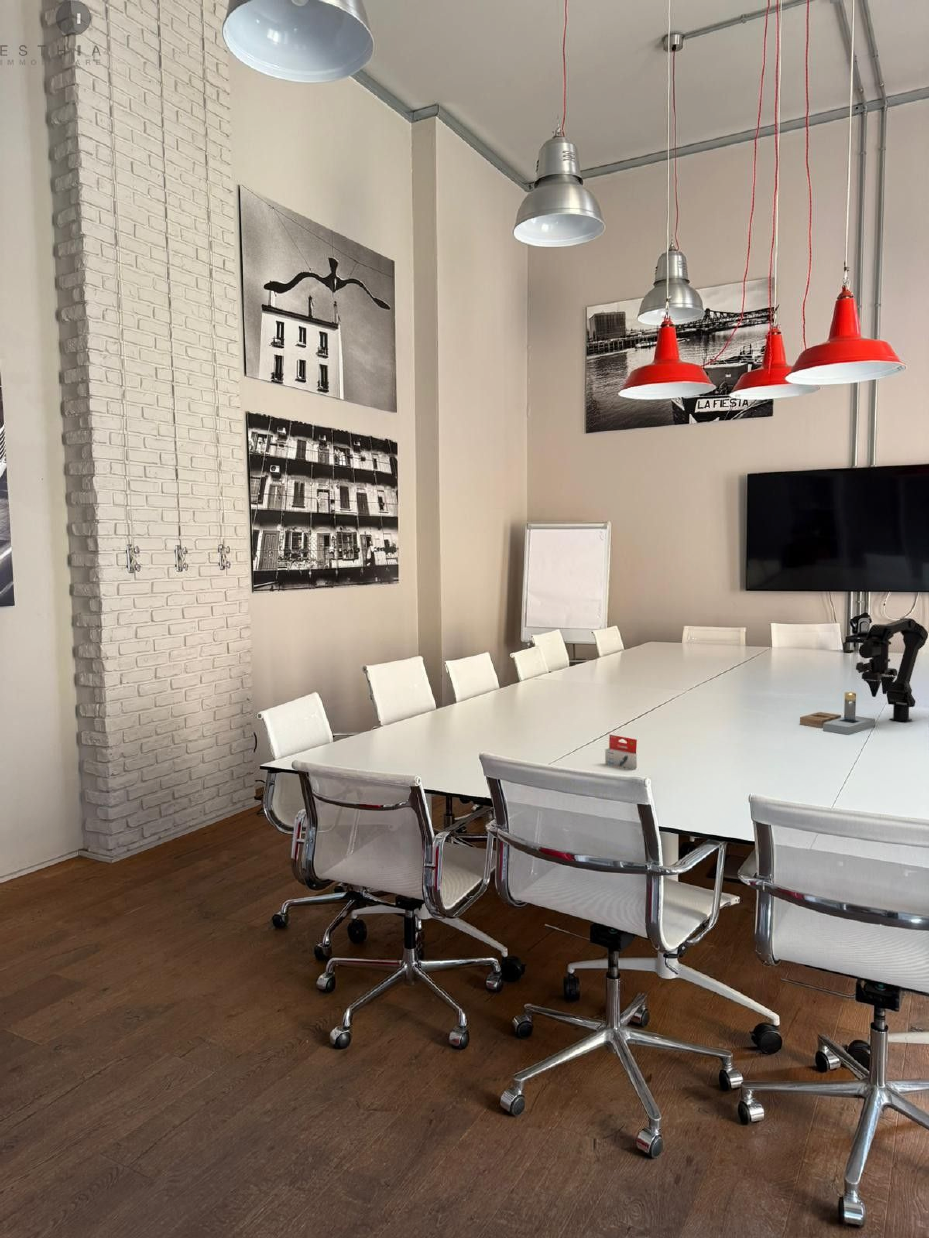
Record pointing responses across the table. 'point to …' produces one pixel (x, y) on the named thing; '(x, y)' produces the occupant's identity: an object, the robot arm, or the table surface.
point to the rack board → (848, 725)
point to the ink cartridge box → (621, 752)
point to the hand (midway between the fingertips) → (879, 695)
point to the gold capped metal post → (850, 707)
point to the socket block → (818, 719)
